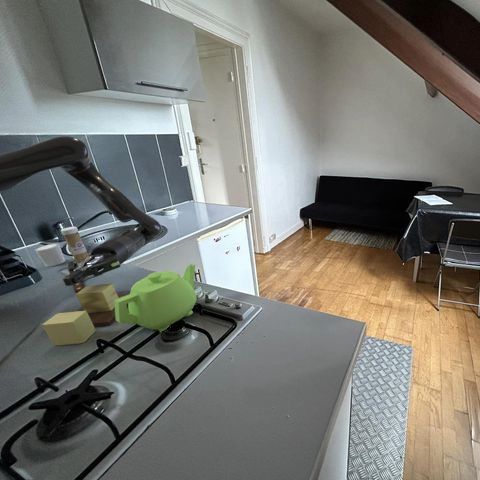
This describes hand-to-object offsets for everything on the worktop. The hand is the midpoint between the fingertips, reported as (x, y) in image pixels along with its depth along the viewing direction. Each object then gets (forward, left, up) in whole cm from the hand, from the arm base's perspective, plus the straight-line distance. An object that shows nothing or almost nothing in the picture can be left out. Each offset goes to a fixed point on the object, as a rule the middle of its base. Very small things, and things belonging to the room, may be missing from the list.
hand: (67, 282), depth 61 cm
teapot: (+19, -6, -12) cm, 24 cm away
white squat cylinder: (-30, +51, -12) cm, 60 cm away
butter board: (+2, +5, -12) cm, 13 cm away
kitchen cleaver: (-13, +31, -12) cm, 36 cm away
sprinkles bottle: (-20, +49, -12) cm, 54 cm away
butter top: (-1, -5, -6) cm, 8 cm away
